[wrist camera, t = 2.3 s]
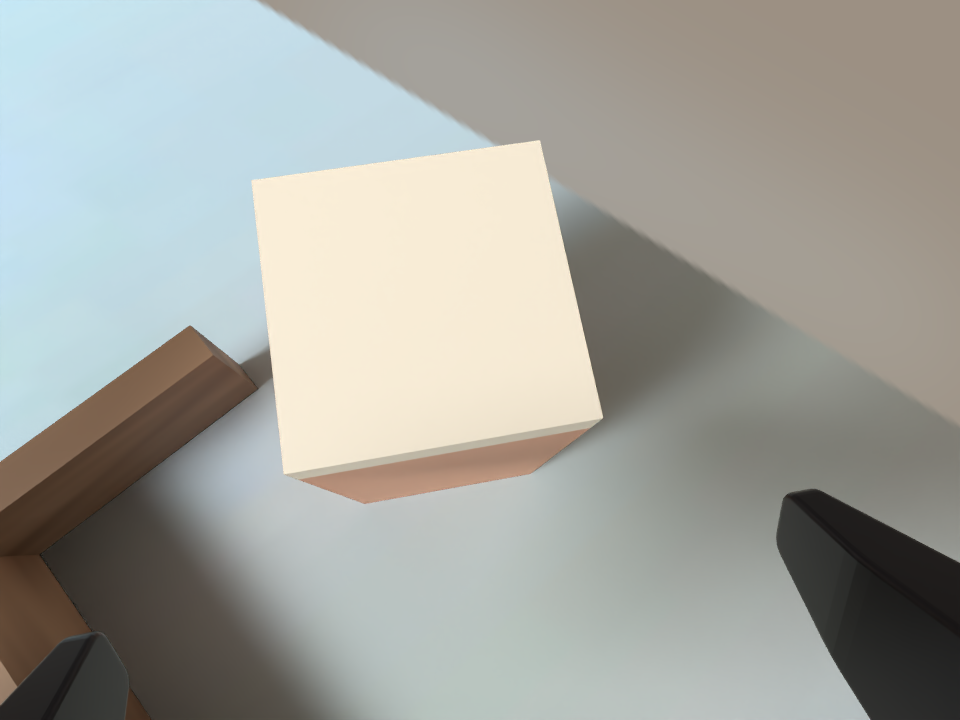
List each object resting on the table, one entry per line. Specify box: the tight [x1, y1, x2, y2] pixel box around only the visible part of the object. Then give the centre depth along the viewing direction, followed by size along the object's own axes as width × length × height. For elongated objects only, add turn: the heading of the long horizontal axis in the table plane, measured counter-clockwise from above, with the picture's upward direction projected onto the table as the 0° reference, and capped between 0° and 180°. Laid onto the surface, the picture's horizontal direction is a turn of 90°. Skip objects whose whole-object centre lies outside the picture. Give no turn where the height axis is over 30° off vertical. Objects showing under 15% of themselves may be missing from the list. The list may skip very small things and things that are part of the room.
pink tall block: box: [252, 141, 603, 504], centre depth 16 cm, size 5×5×10 cm
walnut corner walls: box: [0, 326, 258, 720], centre depth 17 cm, size 12×8×4 cm
